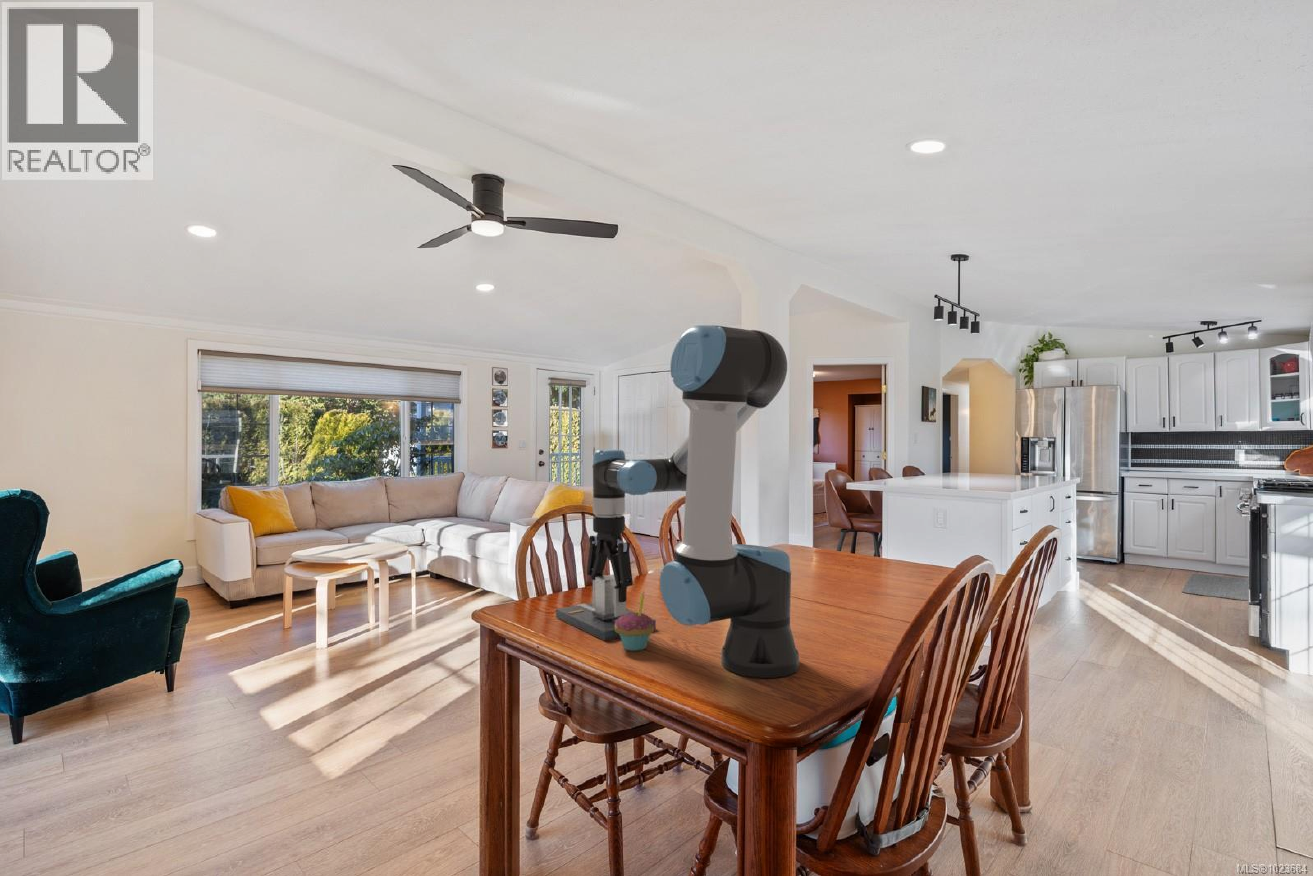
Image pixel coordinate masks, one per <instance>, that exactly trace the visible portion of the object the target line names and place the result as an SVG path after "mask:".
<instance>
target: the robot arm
mask: <svg viewBox="0 0 1313 876" xmlns="http://www.w3.org/2000/svg"><path fill="white" fill-rule="evenodd" d="M671 354H672V355H671V358H670V359H671V360H670V375H671V378H672V382H673V384H674V386H675V387H677V388H678V389H679V390H681V391H682V398H681V399H682V402H683V404H685V405H686V406H687V408H689V425H688V427H689V428H688V435H687V437H685V439H684V441H682V443H681V444H680V445H679V447H678V448H677V449H676V450H675V452H673V454H672V455H671V456H670V458H656V459H655V458H651V459H650V458H649V459H647V458H645V459H626V453H625V451H623V450H621V449H597V450H595V451H594V452H593V459H592V461H593V462H592V493H593V495H592V496H593V497H592V514H593V515H594V516H593V517H592V531H593V532H594V533H596V534H595V535H590V536H589V537H588V538H589V539H588V540H589V549H588V560H587V570H586V574H587V576H590V578H591V580H592V586H591V587H592V588H591V589H592V602H593V607H594V608H595V577H600V576H603V575H604V574H603V573H604V571H605V567H606V564H607V561H608V560H609V561H610V565H611V569H612V572H613V573H612V574H613V575H614V577H615V582H616V586H615V587H614V616H615V617H617V616H622V615H625V614H626V609H627V589H628V587H630V586H631V587H632V586H633V585H634V581H633V572H632V566H631V557H630V547H631V545H630V544H631V543H630V542H629V541H626V542H624V541H623V540H622V533H624V532H625V530H626V517H625V515H624V514H625V513H626V512H625V511H626V507H625V505H626V504H625V502H626V501H625V497H626V494H628V495H630V496H643V495H647V494H649V493H651V494H652V493H661V492H685V497H684V500H685V503H684V520H683V522H684V523H683V536H682V537H683V539H682V540H681V541H680V542H679V543H677V544H676V545H675V547H674V550H673V551H674V553H673V554H674V555H673V557H674V558H673V560H672V561H669V562H667V563H666V564H665V565H664V566H663V567H662V569H661V570H660V575H659V588H660V594H661V596H662V600H663V601H662V602H664V605H665V607H666V609H667V611H668V613H669V615H670V616H671V617H672V618H673V619H674V620H675V621H676V622H678V623H679V624H682V625H684V626H687V627H688V626H698V625H699V626H700V625H701V626H706V625H708V624H710V623H715V622H719V621H723V620H724V621H725V620H730V623H729V626H728V629H727V633H726V635H725V640H724V641H725V642H724V644H723V646H722V649H721V652H720V653H721V654H720V655H721V660H720V662H721V665H722V666H723V667H724V668H725V669H726V670H727V671H730V672H732V673H734V674H737V675H741V676H745V677H750V678H758V679H759V678H760V679H772V678H773V679H775V678H782V677H786V676H790V675H792V674H794V673H796V672H797V671H798V670H799V668H800V653H799V651H798V649H797V647H796V643H795V639H794V635H793V632H792V627H791V590H792V589H791V588H792V587H791V586H792V585H791V584H792V583H791V582H792V580H791V579H792V570H791V560H790V559H791V558H790V556H789V554H788V553H787V552H786V551H784V550H782V549H778V548H774V547H769V546H764V545H756V544H755V545H754V544H739V543H735V544H731V532H732V531H731V529H732V515H733V514H732V513H733V512H732V511H733V497H734V480H735V477H734V476H735V462H736V446H737V432H738V431H739V430H740V429H741V428H742V427H743V426H745V423H747V422H748V420H749V419H750V418H751V417H752V416H753V415H754V414H755V413H756V411H758V410H761V409H765V408H767V406H769V405H770V404H771V402H772V401H773V400H774V399H775V397H776V396H777V395H778V394H779V393H780V391H781V390H782V388H783V386H784V383H785V381H786V377H787V375H788V358H787V355H786V352H785V350H784V348H783V346H782V344H781V343H780V342H779V341H778V340H777V339H776V337H774V336H772V334H769V333H768V332H764V331H761V330H756V329H744V328H737V327H730V326H722V325H715V324H713V325H706V324H705V325H695V326H692V327H689V328H687V330H685V332H683V333H682V335H681V337H680V338H678V340H677V342H676V343H675V346H674V348H673V350H672V353H671ZM607 559H608V560H607ZM620 581H621V583H620Z"/></svg>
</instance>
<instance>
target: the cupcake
mask: <svg viewBox="0 0 1313 876" xmlns="http://www.w3.org/2000/svg"><path fill="white" fill-rule="evenodd" d="M644 594H645V591H642V594H641V595H640V601H639V606H638V612H635V613H629V614H628V613H627V614H625V615H622V616H621V617H619V618H618V619H617V620H616V622H615V632H617V633H619V635H620V639H621V642H622V646H623V648H624V649H625V650H627V651H635V652H636V651H641V650H644V649H646V648H647V644H648V641H649V637H650V635H651V634H653V632H654V630H655V629H654V626H655V622H654V621H653V620H654V619H653V618H651V617H649V615H647V614H646V613H643V612H642V611H643V604H644V599H645V595H644ZM652 619H653V620H652Z"/></svg>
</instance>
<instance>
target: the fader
mask: <svg viewBox="0 0 1313 876" xmlns="http://www.w3.org/2000/svg"><path fill="white" fill-rule="evenodd" d="M620 583H621V581H620ZM615 586H616V582H615V577H614V574H608V575H606V574H603V576H600V577H595V611H592V615H593V616H596V617H598V618H600V619H602V620H607V619H612V618H617V617H621V616H617V617H615V616H614V587H615Z"/></svg>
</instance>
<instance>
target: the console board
mask: <svg viewBox="0 0 1313 876" xmlns="http://www.w3.org/2000/svg"><path fill="white" fill-rule="evenodd" d="M592 611H595V608H594V607H593V601H591V602H588V603H580V604H575V605H573V606H572V605H571V606H566V607H561V608H556V609H555V618H556V619H558V620H560V621H562V622H564V623H567V624H569V625H571V626H573V627H576V628H577V629H580V630H581V631H583V632H585V633H587V634H589V635H591V636H593V637H596V638H597V639H600V640H601V641H603V642H607V641H610V640H614V639H619V638H620V639H621V637H620V635H619V633H617V632H615V622H616V620H617V619H618V618H619V617H617V618H612V619H607V620H602V619H600V618H598V617H596V616H593V615H592ZM627 613H628V614H629V613H636V612H635V611H633V610H630V609H628V608H626V614H627ZM651 619H652V620H653V621H654V622H655V626H654V630H656V627H657V626H656V625H657V624H656V621H657V620H655V619H653V618H651Z"/></svg>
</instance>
